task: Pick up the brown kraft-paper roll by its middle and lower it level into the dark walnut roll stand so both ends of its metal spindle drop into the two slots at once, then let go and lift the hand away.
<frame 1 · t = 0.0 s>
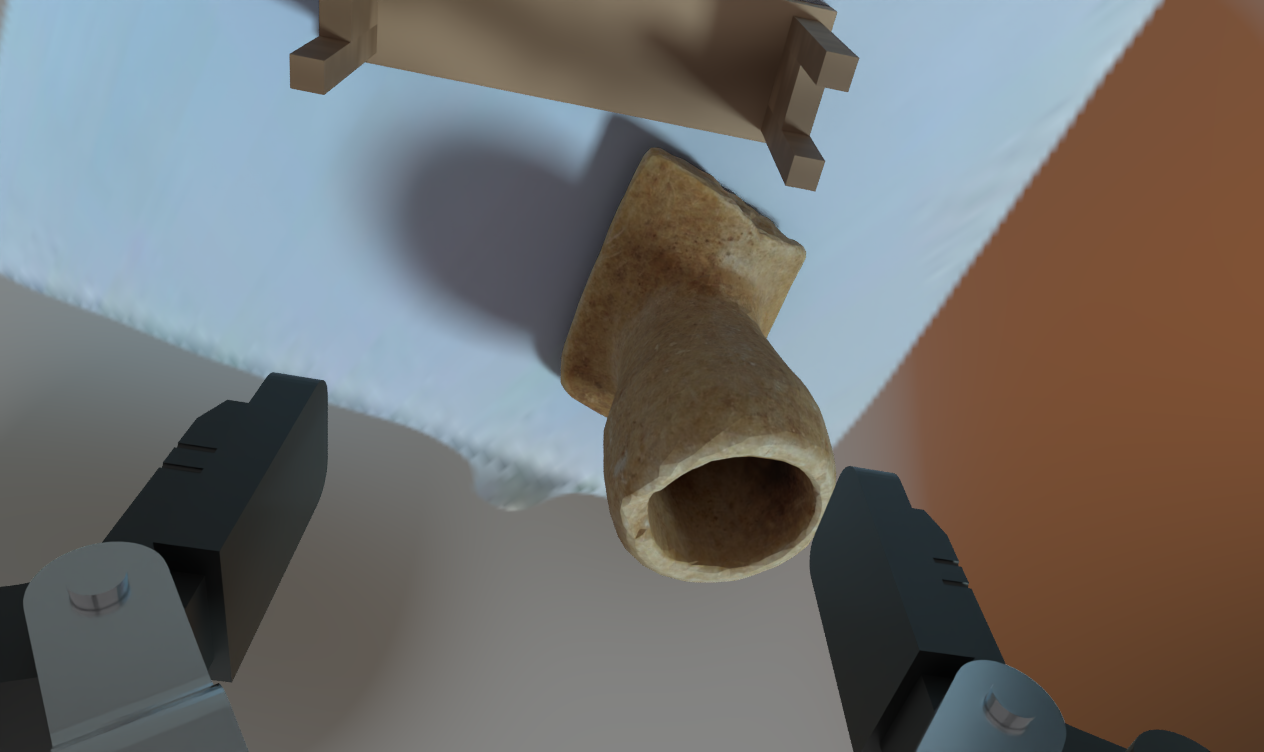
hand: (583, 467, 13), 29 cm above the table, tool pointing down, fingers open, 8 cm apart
roll stand: (583, 29, 37), on the table
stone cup: (691, 303, 45), on the table
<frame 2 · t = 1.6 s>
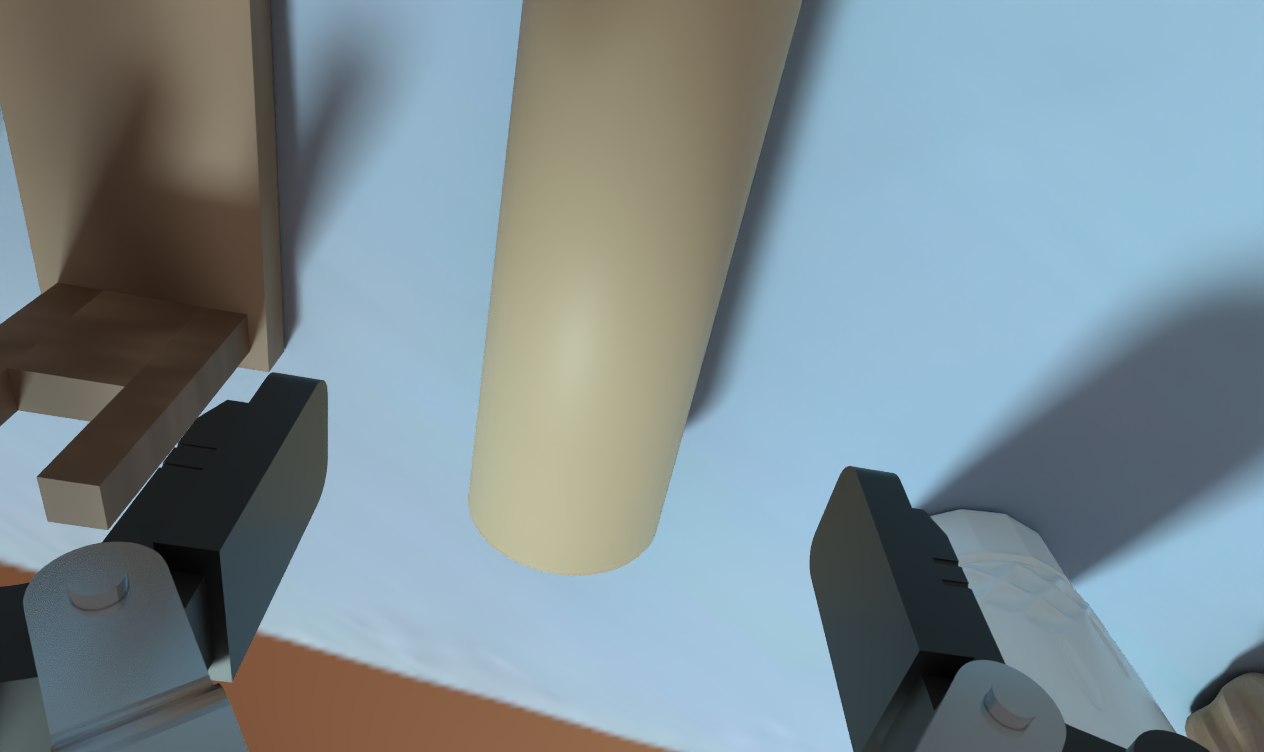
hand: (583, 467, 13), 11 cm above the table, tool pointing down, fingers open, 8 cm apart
cupcake: (1244, 696, 33), on the table
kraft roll: (616, 215, 23), on the table
white cup: (948, 574, 30), on the table
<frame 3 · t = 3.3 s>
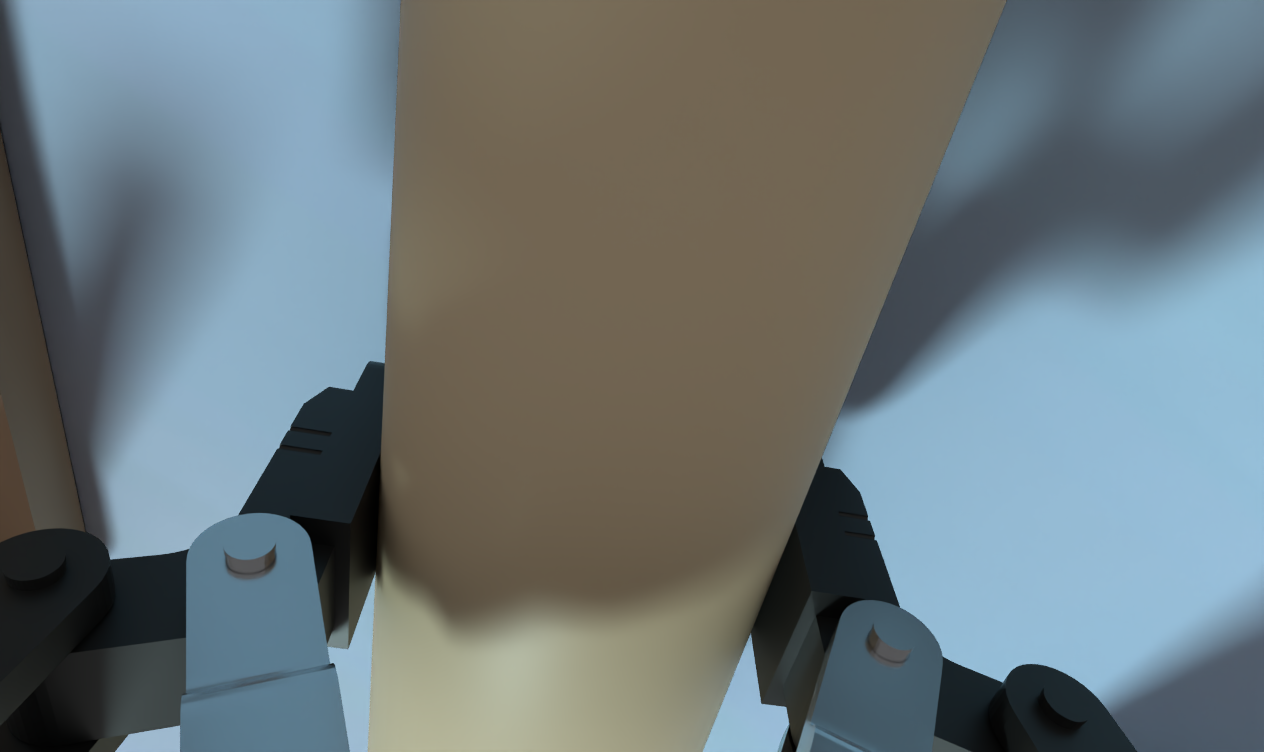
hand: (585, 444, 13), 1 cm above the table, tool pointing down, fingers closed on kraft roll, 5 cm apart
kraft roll: (592, 406, 14), on the table, touching gripper
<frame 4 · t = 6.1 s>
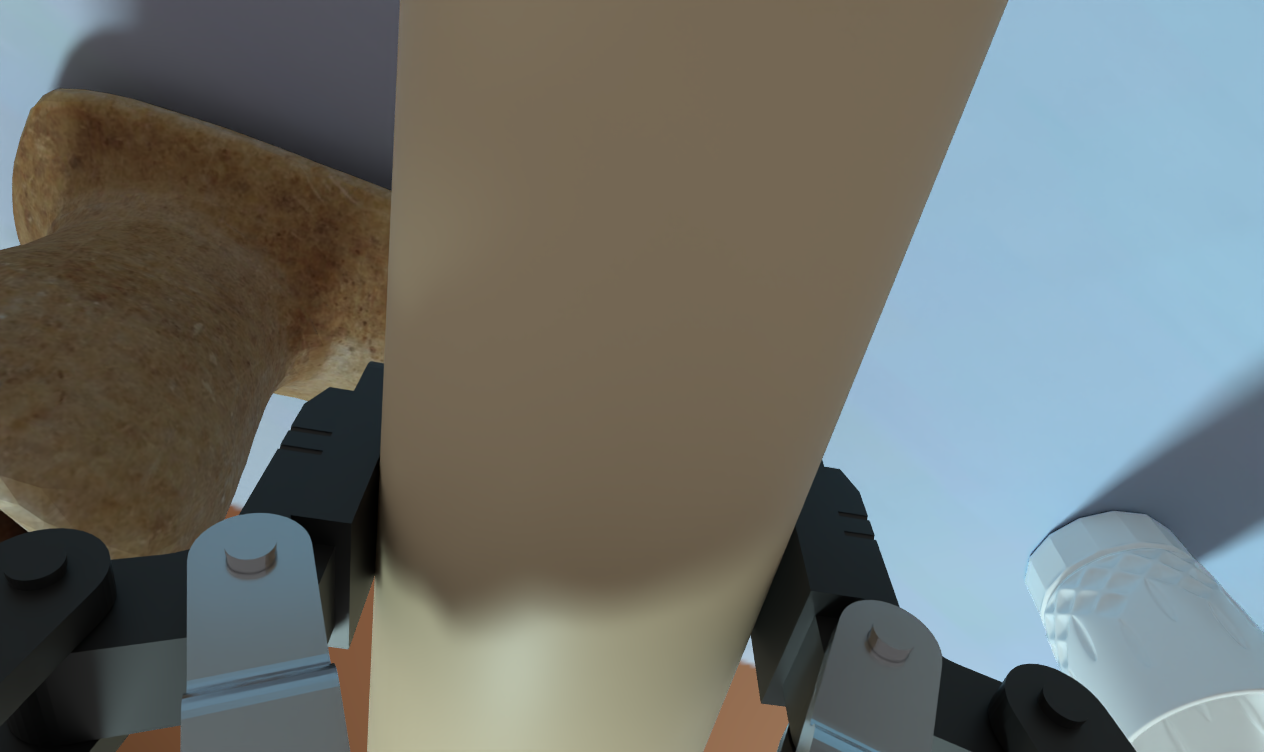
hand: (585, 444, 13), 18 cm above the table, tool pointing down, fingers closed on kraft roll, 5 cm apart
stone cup: (254, 267, 32), on the table
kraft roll: (593, 408, 14), point 17 cm above the table, touching gripper
white cup: (1095, 559, 39), on the table
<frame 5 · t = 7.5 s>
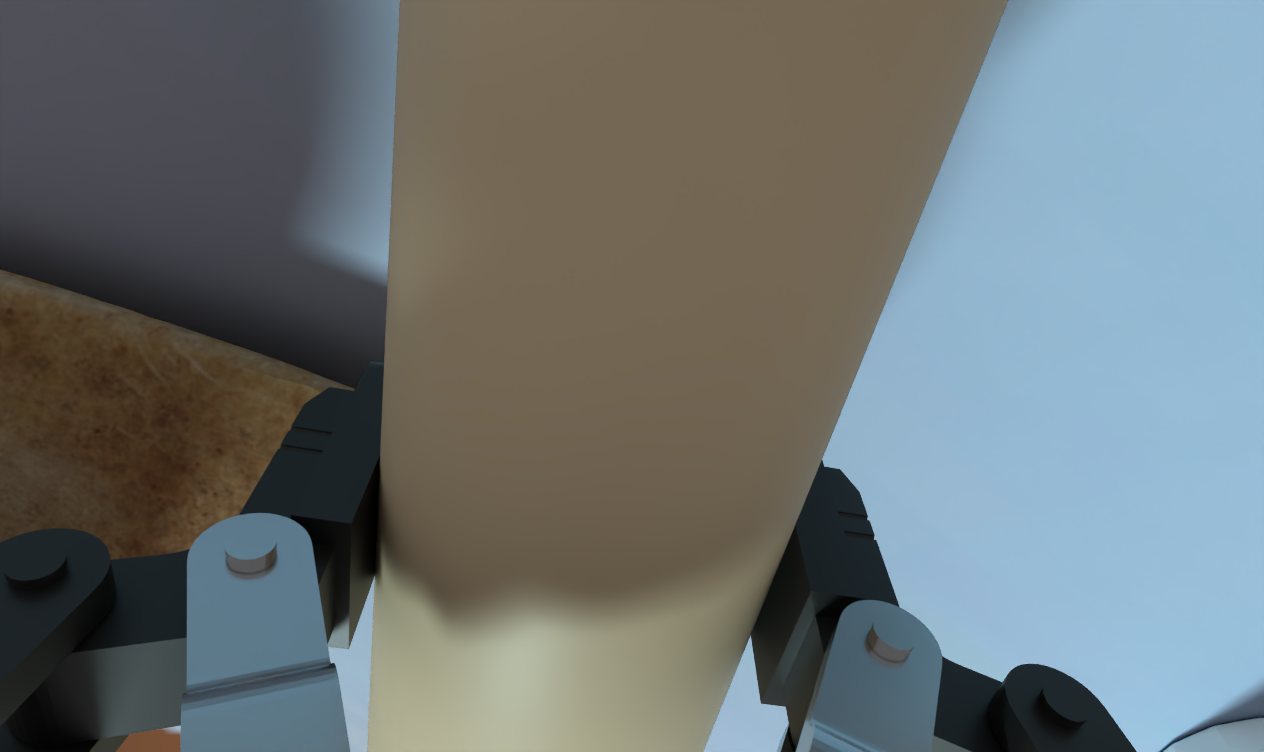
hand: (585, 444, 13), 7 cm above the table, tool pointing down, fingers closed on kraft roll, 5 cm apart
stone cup: (98, 438, 23), on the table
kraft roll: (593, 407, 14), point 6 cm above the table, touching gripper
when the fingers open (5 cm above the table, at t = 8.8 s): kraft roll stays where it is, resting on roll stand.
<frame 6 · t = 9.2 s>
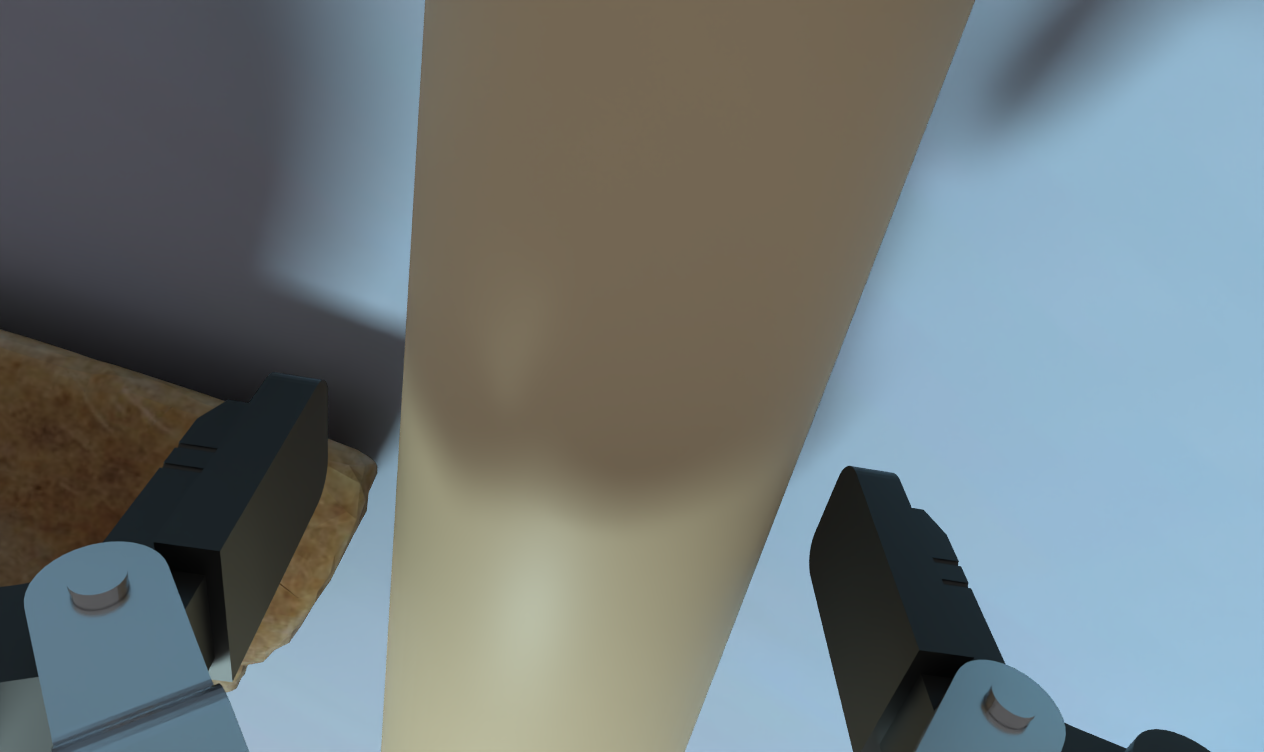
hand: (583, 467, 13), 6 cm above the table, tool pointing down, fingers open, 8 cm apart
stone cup: (51, 483, 21), on the table
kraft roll: (600, 381, 15), point 3 cm above the table, touching roll stand
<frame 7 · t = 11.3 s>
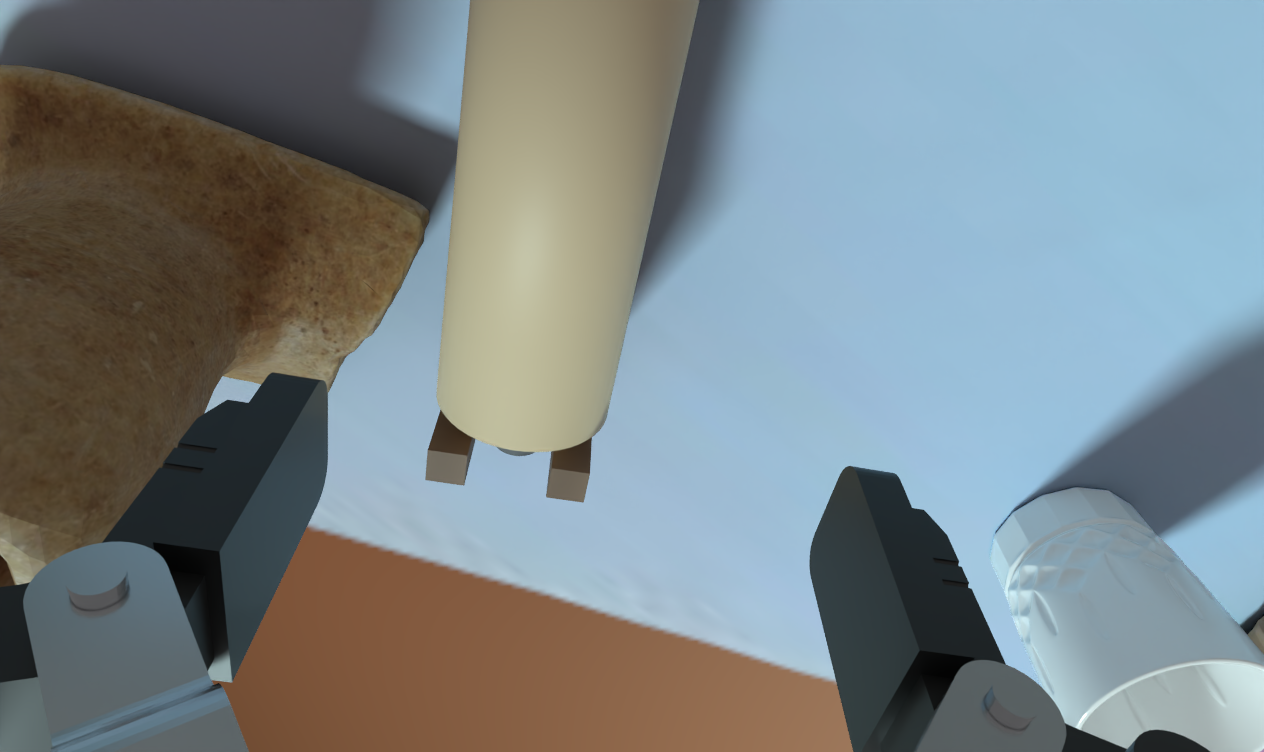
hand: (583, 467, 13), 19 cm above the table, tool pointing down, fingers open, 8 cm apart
roll stand: (568, 106, 28), on the table
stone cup: (206, 249, 31), on the table
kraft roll: (568, 135, 25), point 3 cm above the table, touching roll stand
white cup: (1059, 536, 40), on the table
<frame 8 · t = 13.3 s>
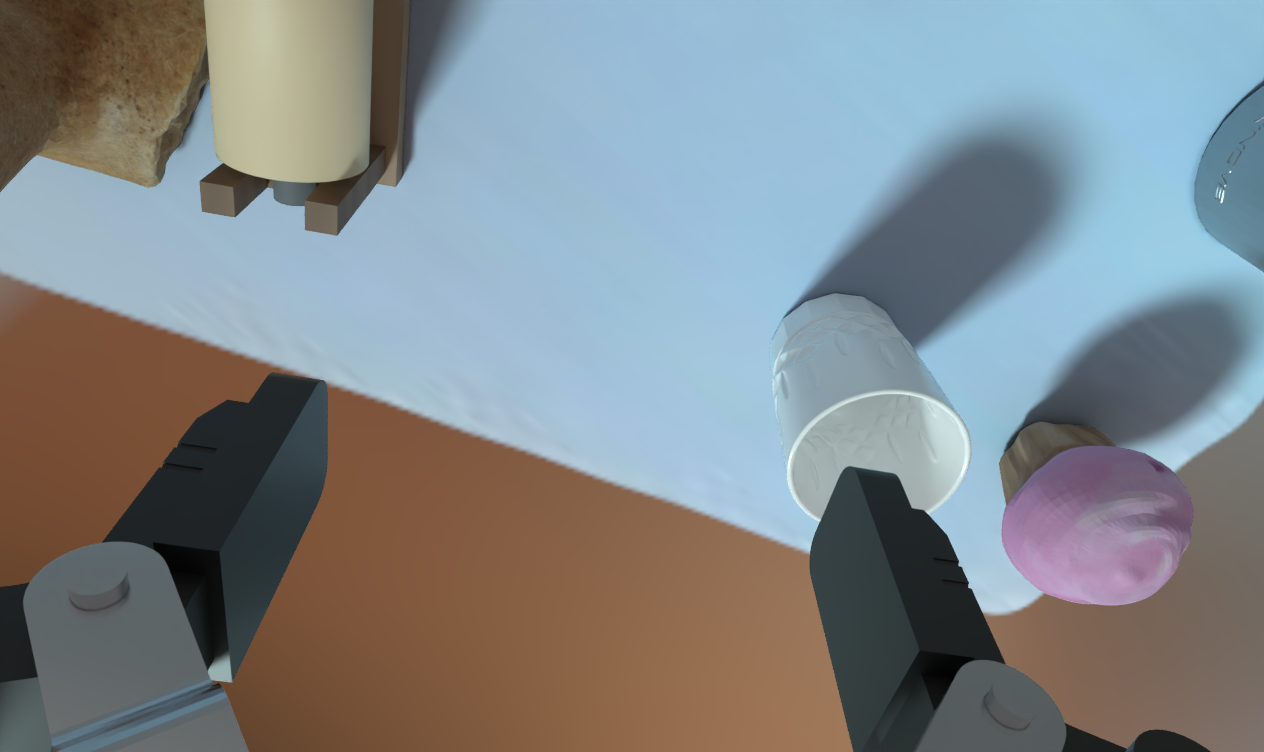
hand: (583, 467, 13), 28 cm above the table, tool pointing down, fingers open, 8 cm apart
cupcake: (1040, 445, 48), on the table
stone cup: (50, 53, 37), on the table
white cup: (831, 346, 45), on the table
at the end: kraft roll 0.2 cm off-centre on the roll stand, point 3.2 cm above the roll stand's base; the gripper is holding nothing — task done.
